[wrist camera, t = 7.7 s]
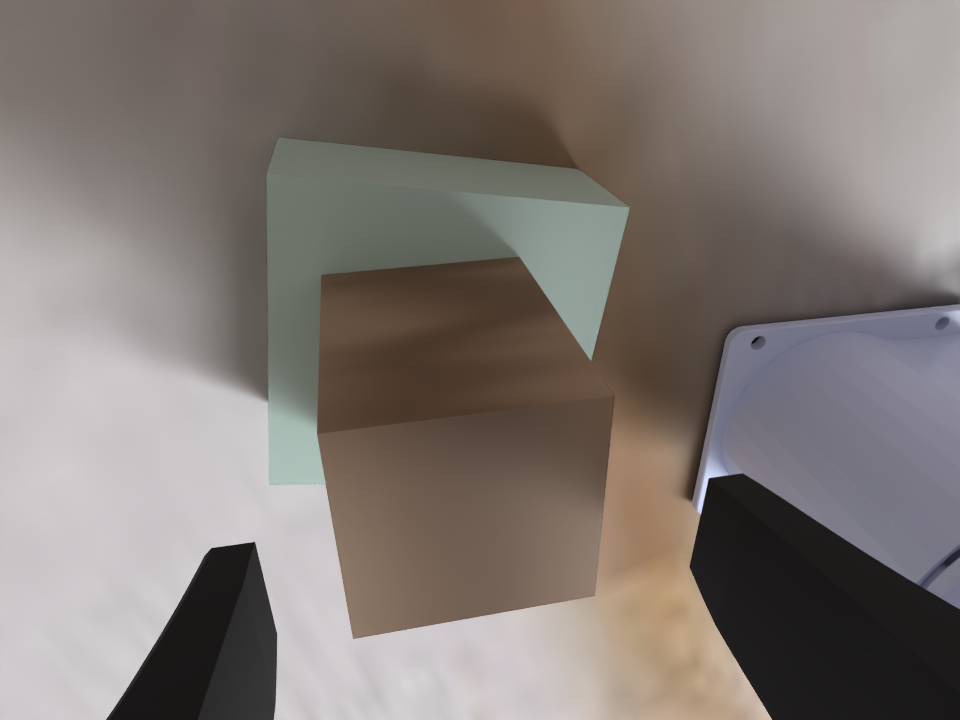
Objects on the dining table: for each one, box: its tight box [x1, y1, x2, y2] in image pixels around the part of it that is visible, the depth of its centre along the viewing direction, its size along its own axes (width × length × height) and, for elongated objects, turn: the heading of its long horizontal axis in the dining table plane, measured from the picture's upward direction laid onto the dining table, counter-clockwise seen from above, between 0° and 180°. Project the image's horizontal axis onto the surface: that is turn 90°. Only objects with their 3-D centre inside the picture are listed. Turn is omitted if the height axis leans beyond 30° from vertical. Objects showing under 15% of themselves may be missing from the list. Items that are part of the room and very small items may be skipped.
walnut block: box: [317, 257, 615, 639], centre depth 14 cm, size 4×4×6 cm
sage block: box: [266, 137, 630, 485], centre depth 18 cm, size 8×8×4 cm
